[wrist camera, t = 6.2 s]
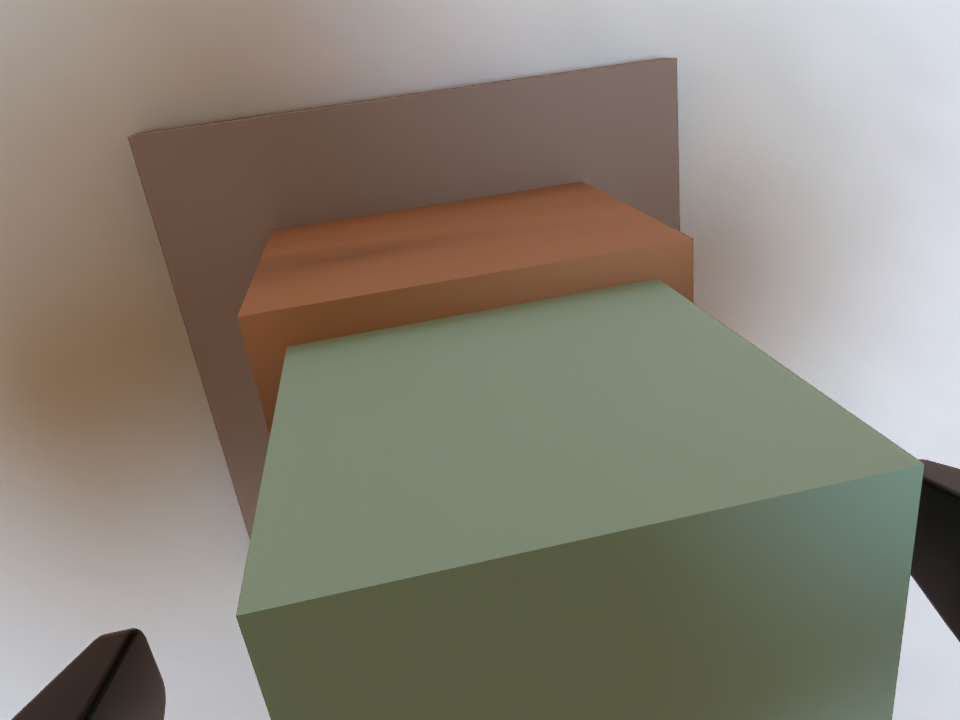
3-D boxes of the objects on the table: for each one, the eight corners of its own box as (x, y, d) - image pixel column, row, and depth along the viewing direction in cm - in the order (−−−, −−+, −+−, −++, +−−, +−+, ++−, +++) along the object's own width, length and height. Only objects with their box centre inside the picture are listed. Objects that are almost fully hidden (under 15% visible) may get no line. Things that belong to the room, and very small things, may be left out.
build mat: (674, 489, 18) (684, 502, 18) (268, 575, 17) (266, 592, 17) (664, 58, 14) (676, 58, 14) (137, 133, 13) (128, 136, 13)
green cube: (668, 572, 12) (869, 888, 7) (361, 642, 11) (375, 1030, 7) (658, 278, 10) (923, 464, 5) (286, 346, 9) (235, 616, 5)
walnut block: (600, 446, 17) (696, 591, 12) (336, 499, 16) (334, 674, 12) (581, 181, 14) (692, 238, 10) (271, 230, 14) (237, 316, 9)
